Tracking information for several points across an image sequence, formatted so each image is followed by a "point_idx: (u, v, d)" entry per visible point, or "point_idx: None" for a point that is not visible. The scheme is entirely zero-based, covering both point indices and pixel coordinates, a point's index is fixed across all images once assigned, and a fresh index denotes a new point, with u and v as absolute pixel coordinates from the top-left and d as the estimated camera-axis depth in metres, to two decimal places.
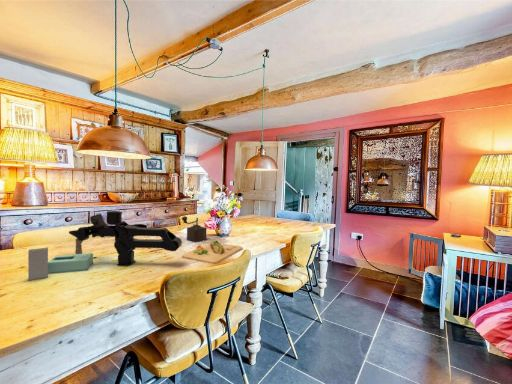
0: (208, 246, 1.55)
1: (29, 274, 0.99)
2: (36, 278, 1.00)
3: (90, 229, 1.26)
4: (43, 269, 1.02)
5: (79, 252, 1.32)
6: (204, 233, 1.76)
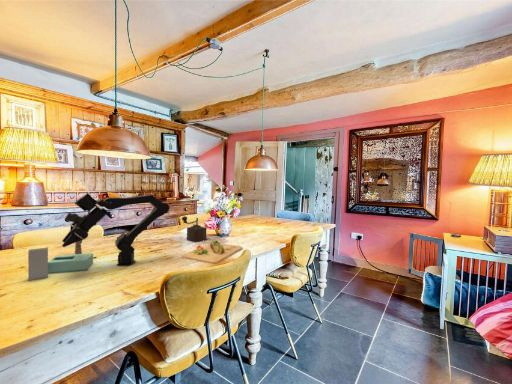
0: (208, 246, 1.55)
1: (29, 274, 0.99)
2: (36, 278, 1.00)
3: None
4: (43, 269, 1.02)
5: (79, 252, 1.31)
6: (204, 233, 1.76)
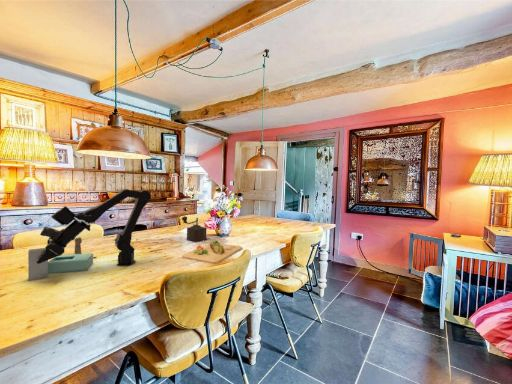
0: (208, 246, 1.54)
1: (29, 274, 0.99)
2: (36, 278, 1.00)
3: None
4: (43, 269, 1.02)
5: (78, 252, 1.31)
6: (204, 233, 1.76)
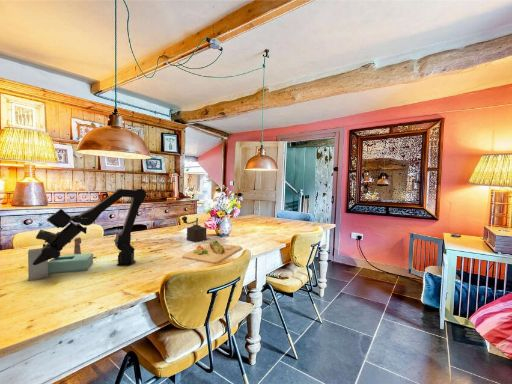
0: (208, 246, 1.54)
1: (29, 274, 0.99)
2: (36, 278, 1.00)
3: None
4: (43, 269, 1.02)
5: (78, 252, 1.31)
6: (204, 233, 1.76)
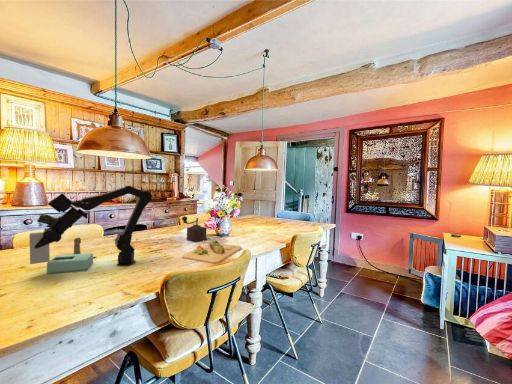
0: (207, 246, 1.54)
1: (31, 257, 1.00)
2: (38, 261, 1.01)
3: None
4: (44, 253, 1.02)
5: (77, 252, 1.31)
6: (204, 233, 1.76)
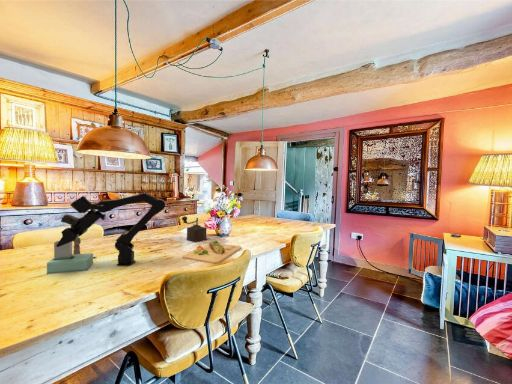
0: (207, 246, 1.54)
1: None
2: None
3: None
4: None
5: (77, 252, 1.31)
6: (204, 233, 1.76)
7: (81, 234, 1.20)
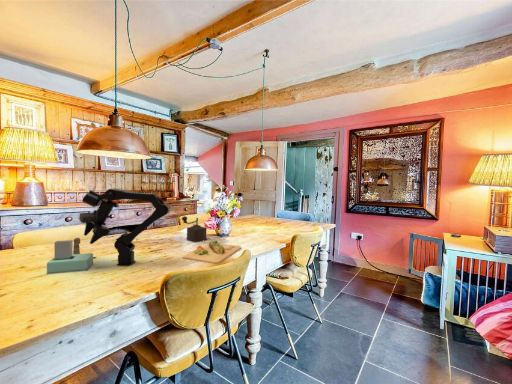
0: (207, 246, 1.54)
1: None
2: None
3: (89, 227, 1.22)
4: None
5: (77, 253, 1.31)
6: (204, 233, 1.76)
7: None
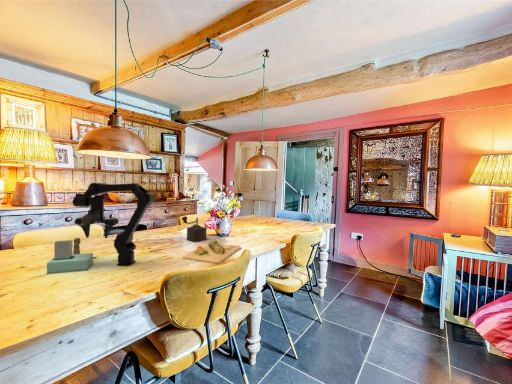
0: (207, 246, 1.54)
1: None
2: None
3: (87, 229, 1.22)
4: None
5: (77, 253, 1.30)
6: (204, 233, 1.76)
7: None
